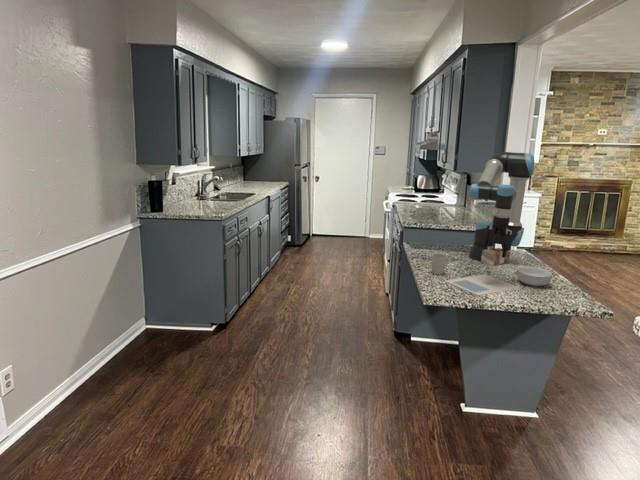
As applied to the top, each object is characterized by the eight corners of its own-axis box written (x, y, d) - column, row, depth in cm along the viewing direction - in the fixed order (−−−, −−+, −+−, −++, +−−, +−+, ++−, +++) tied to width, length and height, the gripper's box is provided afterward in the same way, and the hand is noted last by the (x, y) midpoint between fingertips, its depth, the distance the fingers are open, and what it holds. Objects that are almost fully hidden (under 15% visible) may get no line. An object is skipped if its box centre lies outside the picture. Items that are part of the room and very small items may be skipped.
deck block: (496, 259, 232) (498, 247, 231) (508, 263, 226) (510, 251, 225) (480, 262, 227) (482, 250, 225) (491, 266, 221) (493, 253, 219)
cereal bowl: (516, 276, 242) (519, 264, 240) (550, 283, 234) (553, 270, 232) (512, 285, 228) (514, 271, 226) (548, 292, 220) (551, 278, 218)
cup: (445, 272, 242) (448, 254, 239) (444, 277, 234) (447, 258, 232) (430, 270, 244) (432, 252, 242) (428, 274, 237) (431, 256, 234)
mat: (484, 275, 242) (484, 274, 242) (520, 288, 223) (520, 287, 223) (444, 281, 227) (444, 280, 227) (478, 296, 209) (478, 295, 209)
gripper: (480, 212, 227) (474, 256, 233) (513, 221, 210) (506, 267, 216) (490, 212, 231) (484, 254, 236) (524, 220, 214) (516, 265, 220)
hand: (494, 260), depth 226 cm, fingers closed on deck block, 7 cm apart
